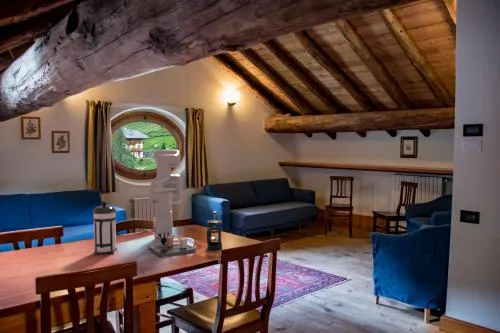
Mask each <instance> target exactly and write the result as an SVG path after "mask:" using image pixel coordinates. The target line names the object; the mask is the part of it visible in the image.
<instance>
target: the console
mask: <svg viewBox="0 0 500 333" xmlns="http://www.w3.org/2000/svg"><path fill="white" fill-rule="evenodd" d="M147 251H148V252H150V253H152V254H153V255H155V256H156V257H158V258H159V259H160V258H167V257H174V256H180V255H185V254H192V253H196V252H197V250H196V248H195V247H193V246H192V245H191V244H187V248H181V247H180V244H174V246H167V245H162V244H158V245H151V246H147Z"/></svg>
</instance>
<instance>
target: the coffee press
mask: <svg viewBox="0 0 500 333" xmlns="http://www.w3.org/2000/svg"><path fill="white" fill-rule="evenodd" d="M101 204H102V205H99V206H96V207H94V209H93V211H92V213H93V219H92V220H93V243H94V244H93V245H94V246H93V247H94V251H93V255H95V256H98V254H99V253H109V254H110V255H111V256H112V255H114V254H115V252H114V251H117V250H118V249H117V238H116V236H117V234H116V232H117V231H116V228H117V227H116V226H117V225H116V220H117V217H116V211H117V209H116V208H115V207H114V206H112V205H107V202H106V201H103V202H102V203H101Z"/></svg>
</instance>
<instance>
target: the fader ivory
mask: <svg viewBox="0 0 500 333" xmlns="http://www.w3.org/2000/svg"><path fill="white" fill-rule="evenodd" d="M179 242H180V247H181V248H187V245H188V239H187V238H186V237H181V238H179Z"/></svg>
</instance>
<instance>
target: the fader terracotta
mask: <svg viewBox="0 0 500 333" xmlns="http://www.w3.org/2000/svg"><path fill="white" fill-rule="evenodd" d="M173 243H174V236H173V237H171V236H170V237H167V238H166V245H167V246H174V244H173Z"/></svg>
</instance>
